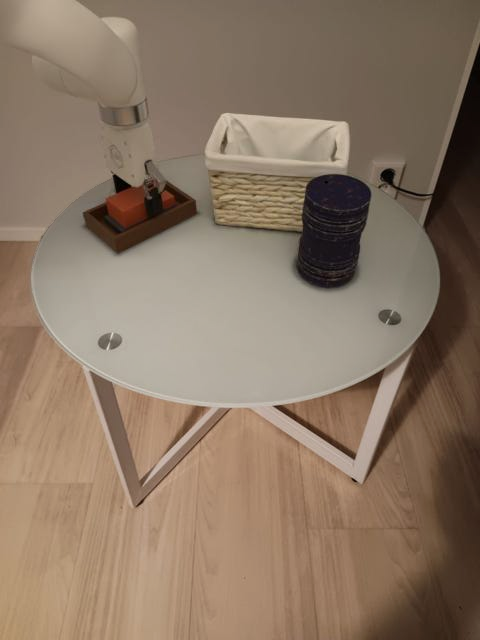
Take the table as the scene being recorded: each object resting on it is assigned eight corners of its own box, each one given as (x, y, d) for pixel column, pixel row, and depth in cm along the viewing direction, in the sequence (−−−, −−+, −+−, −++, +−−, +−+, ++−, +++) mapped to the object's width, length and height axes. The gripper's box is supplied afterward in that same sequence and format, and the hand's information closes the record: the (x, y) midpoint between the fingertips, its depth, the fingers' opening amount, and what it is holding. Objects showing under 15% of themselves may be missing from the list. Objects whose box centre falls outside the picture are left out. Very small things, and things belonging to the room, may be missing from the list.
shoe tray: (117, 253, 88) (114, 239, 86) (85, 226, 93) (82, 212, 91) (196, 214, 96) (196, 200, 94) (163, 190, 101) (161, 177, 99)
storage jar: (367, 275, 84) (386, 198, 73) (319, 296, 81) (332, 218, 70) (330, 243, 90) (343, 167, 79) (284, 261, 87) (291, 184, 76)
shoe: (123, 238, 90) (118, 214, 86) (105, 223, 93) (99, 200, 89) (177, 212, 95) (174, 188, 92) (158, 198, 99) (155, 175, 95)
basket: (205, 227, 93) (200, 153, 82) (221, 180, 104) (220, 109, 93) (336, 241, 90) (349, 166, 80) (339, 191, 101) (351, 119, 91)
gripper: (74, 98, 82) (96, 190, 95) (135, 137, 73) (150, 233, 86) (114, 85, 86) (130, 176, 98) (176, 121, 77) (185, 215, 89)
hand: (139, 202), depth 92 cm, fingers open, 9 cm apart
